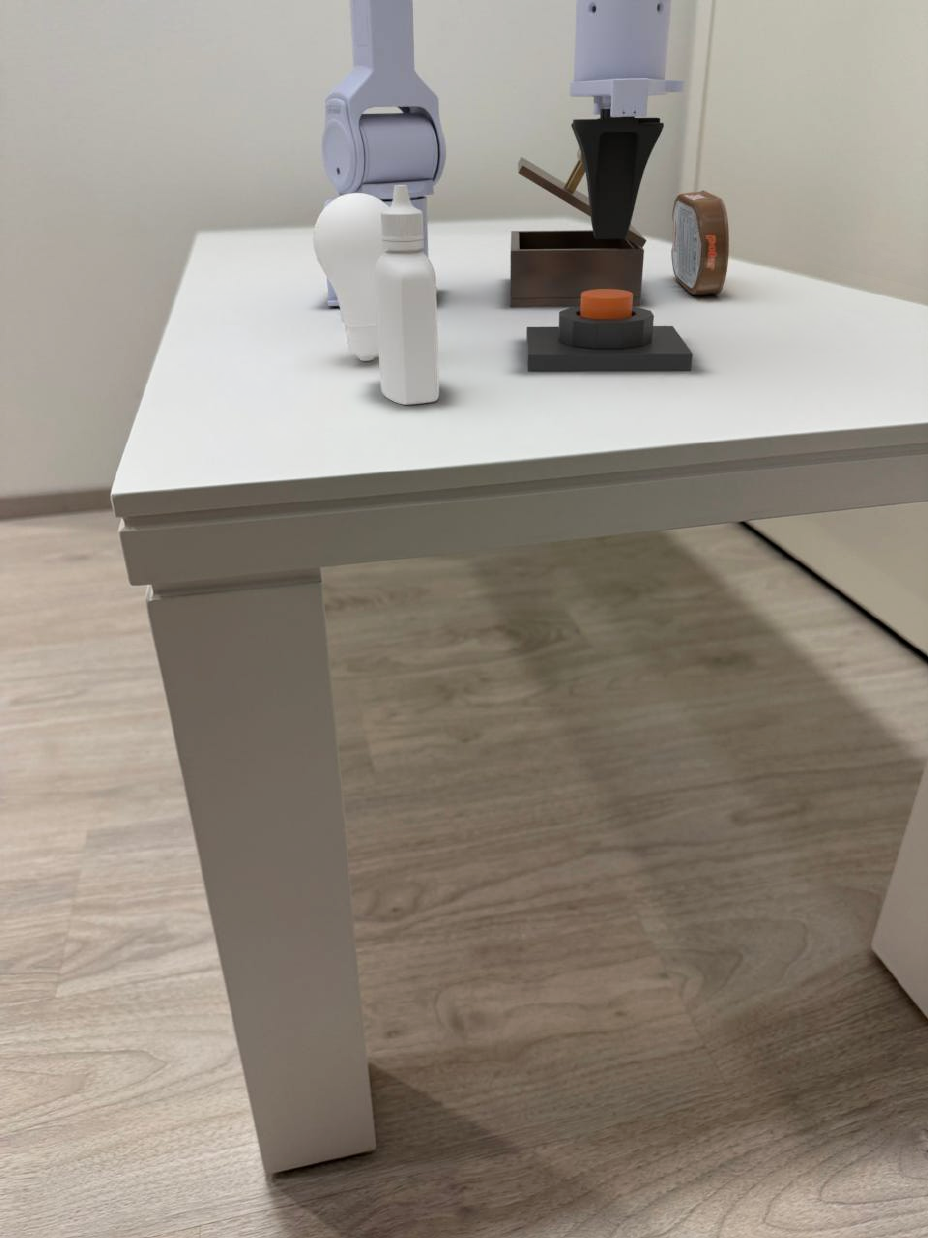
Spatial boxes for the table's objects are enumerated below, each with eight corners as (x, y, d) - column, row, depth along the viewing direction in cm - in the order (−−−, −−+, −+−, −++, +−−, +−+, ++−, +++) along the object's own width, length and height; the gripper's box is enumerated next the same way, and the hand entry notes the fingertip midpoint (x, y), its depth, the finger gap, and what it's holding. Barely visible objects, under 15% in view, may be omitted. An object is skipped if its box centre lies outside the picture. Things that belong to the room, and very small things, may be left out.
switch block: (527, 372, 63) (528, 326, 61) (526, 342, 71) (526, 301, 69) (691, 371, 62) (695, 325, 61) (671, 341, 70) (675, 300, 69)
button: (581, 324, 64) (582, 298, 63) (578, 314, 67) (579, 288, 66) (634, 324, 64) (635, 297, 63) (628, 313, 67) (630, 288, 66)
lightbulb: (342, 375, 63) (327, 198, 58) (312, 357, 68) (296, 192, 62) (423, 363, 65) (416, 193, 60) (389, 347, 70) (380, 187, 65)
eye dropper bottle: (452, 384, 61) (448, 181, 55) (433, 408, 56) (426, 189, 50) (388, 381, 61) (377, 181, 56) (363, 405, 56) (349, 189, 51)
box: (510, 307, 83) (510, 250, 81) (510, 280, 96) (511, 230, 94) (640, 306, 83) (644, 249, 80) (623, 279, 95) (626, 229, 93)
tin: (726, 301, 84) (738, 200, 80) (691, 302, 84) (701, 200, 80) (693, 275, 97) (702, 186, 93) (663, 275, 97) (671, 187, 93)
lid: (518, 172, 78) (546, 117, 76) (517, 163, 91) (542, 115, 89) (642, 247, 80) (673, 195, 78) (624, 228, 93) (651, 183, 91)
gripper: (712, -19, 50) (686, 251, 56) (672, 6, 62) (655, 224, 69) (580, -16, 50) (570, 252, 57) (567, 8, 63) (560, 225, 69)
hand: (609, 237), depth 63 cm, fingers closed
